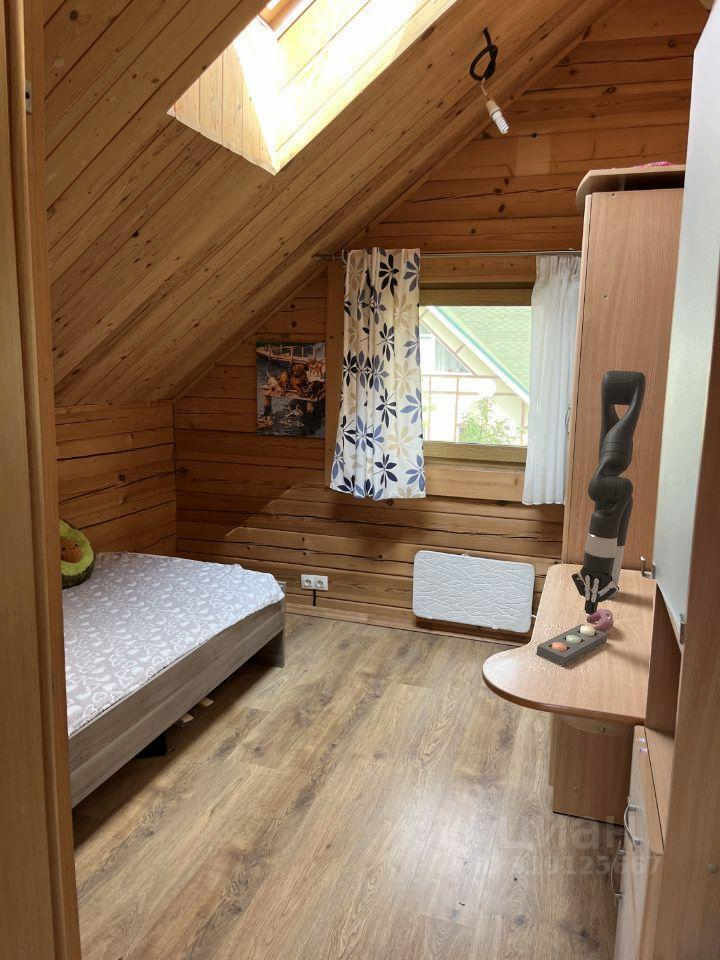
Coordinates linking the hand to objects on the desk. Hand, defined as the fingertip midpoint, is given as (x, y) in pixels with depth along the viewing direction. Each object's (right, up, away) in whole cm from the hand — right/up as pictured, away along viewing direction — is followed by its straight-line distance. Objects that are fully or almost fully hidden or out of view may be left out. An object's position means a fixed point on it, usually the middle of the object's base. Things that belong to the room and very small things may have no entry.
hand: (590, 613), depth 181 cm
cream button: (0, -7, +2) cm, 7 cm away
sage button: (-6, -8, -3) cm, 10 cm away
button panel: (-6, -8, -3) cm, 11 cm away
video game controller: (+6, -7, +10) cm, 13 cm away
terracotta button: (-11, -9, -8) cm, 16 cm away
